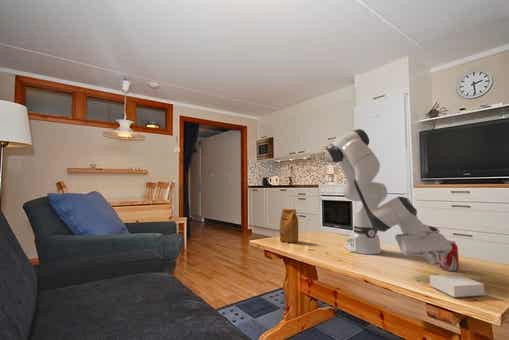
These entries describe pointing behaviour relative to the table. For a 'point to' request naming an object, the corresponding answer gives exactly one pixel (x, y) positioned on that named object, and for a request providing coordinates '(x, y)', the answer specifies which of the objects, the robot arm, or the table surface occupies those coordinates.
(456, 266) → the soda can
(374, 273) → the table surface
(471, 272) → the table surface
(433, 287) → the mat
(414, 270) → the table surface
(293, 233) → the coffee package
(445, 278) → the tile
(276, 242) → the table surface
